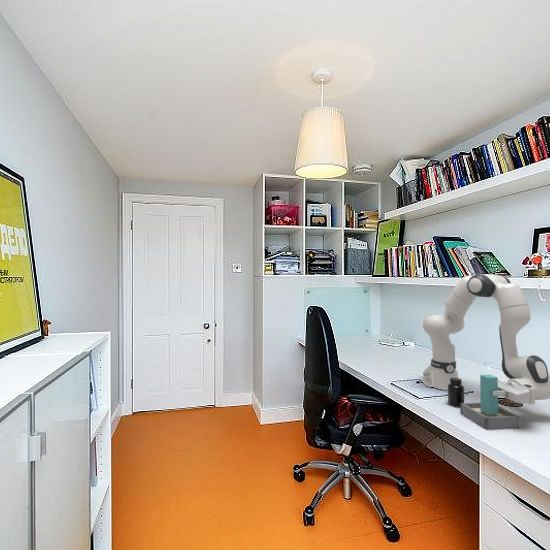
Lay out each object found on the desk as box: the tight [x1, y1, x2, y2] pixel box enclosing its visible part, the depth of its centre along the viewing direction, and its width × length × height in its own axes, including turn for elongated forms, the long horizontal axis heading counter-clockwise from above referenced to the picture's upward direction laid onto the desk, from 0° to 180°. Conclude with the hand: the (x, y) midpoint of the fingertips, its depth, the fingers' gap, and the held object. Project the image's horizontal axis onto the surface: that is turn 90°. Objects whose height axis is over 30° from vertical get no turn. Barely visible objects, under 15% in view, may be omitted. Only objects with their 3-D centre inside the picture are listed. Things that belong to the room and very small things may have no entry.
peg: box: [479, 374, 499, 415], centre depth 147 cm, size 4×4×15 cm
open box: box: [459, 402, 520, 431], centre depth 147 cm, size 16×14×4 cm
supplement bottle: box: [447, 377, 465, 408], centre depth 164 cm, size 7×7×12 cm
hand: (486, 390), depth 146 cm, fingers closed on peg, 4 cm apart
